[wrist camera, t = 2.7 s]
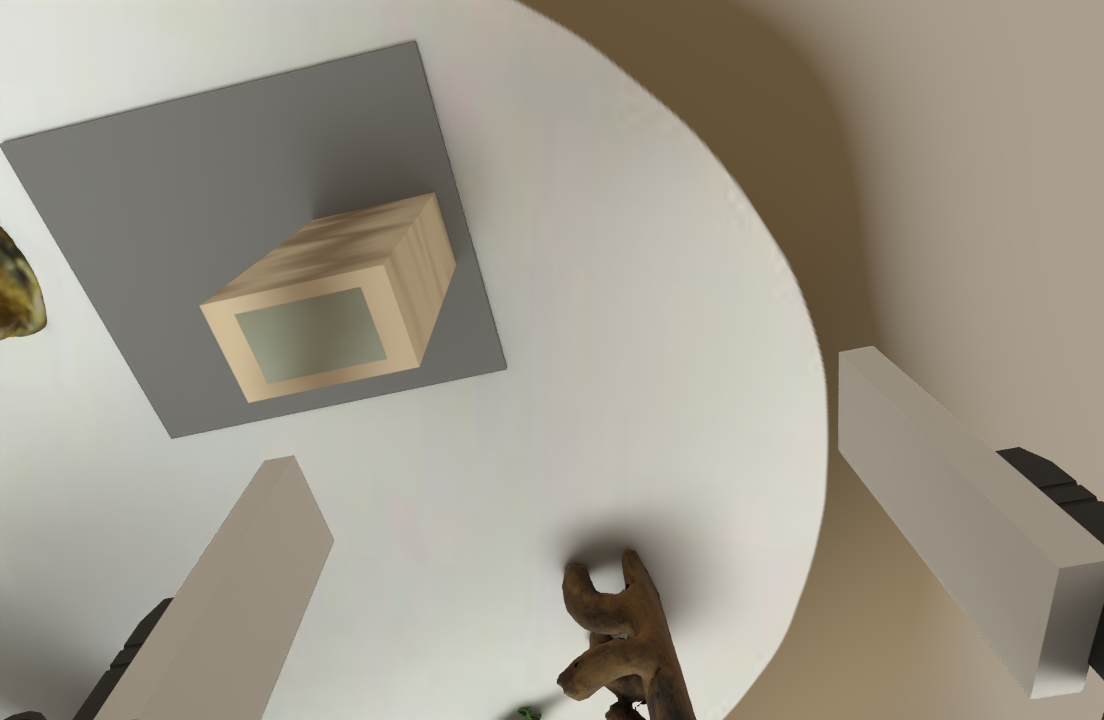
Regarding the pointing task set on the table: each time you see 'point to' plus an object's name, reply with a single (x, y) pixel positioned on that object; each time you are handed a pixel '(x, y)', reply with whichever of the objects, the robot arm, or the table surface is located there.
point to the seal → (18, 293)
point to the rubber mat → (247, 220)
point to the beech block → (337, 300)
